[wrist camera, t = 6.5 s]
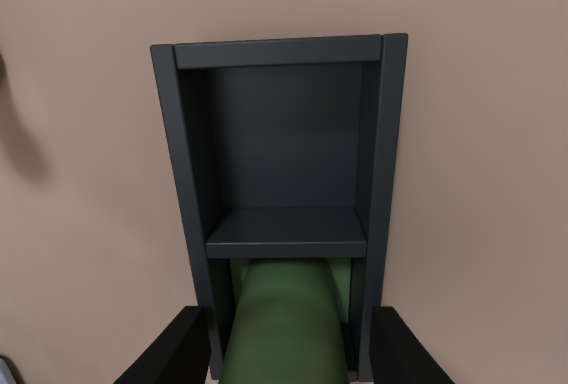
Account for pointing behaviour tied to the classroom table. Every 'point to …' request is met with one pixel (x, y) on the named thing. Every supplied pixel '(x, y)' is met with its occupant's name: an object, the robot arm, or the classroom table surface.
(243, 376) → the sage peg
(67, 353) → the classroom table surface
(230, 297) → the tray
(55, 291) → the classroom table surface
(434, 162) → the classroom table surface
